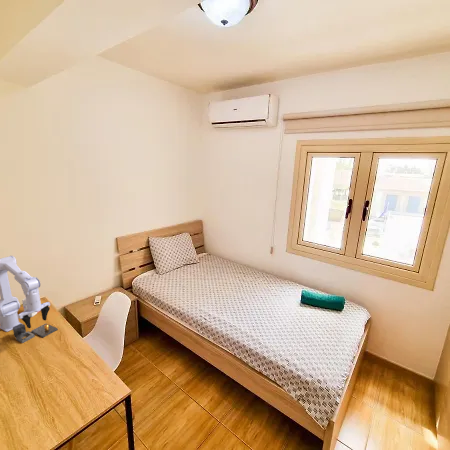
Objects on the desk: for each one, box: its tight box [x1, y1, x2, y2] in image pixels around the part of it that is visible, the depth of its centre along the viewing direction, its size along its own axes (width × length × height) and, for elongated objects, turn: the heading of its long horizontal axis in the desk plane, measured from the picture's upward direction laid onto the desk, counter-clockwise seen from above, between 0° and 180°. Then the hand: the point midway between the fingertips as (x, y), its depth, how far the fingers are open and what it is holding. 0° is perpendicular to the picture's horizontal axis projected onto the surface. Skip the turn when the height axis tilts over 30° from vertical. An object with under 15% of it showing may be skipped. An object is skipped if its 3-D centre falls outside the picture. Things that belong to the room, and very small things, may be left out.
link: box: [12, 323, 36, 344], centre depth 137 cm, size 10×6×6 cm, turn 65°
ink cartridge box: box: [21, 297, 42, 318], centre depth 160 cm, size 9×5×15 cm, turn 179°
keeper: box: [30, 323, 59, 338], centre depth 143 cm, size 11×8×4 cm
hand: (37, 323), depth 134 cm, fingers open, 7 cm apart
